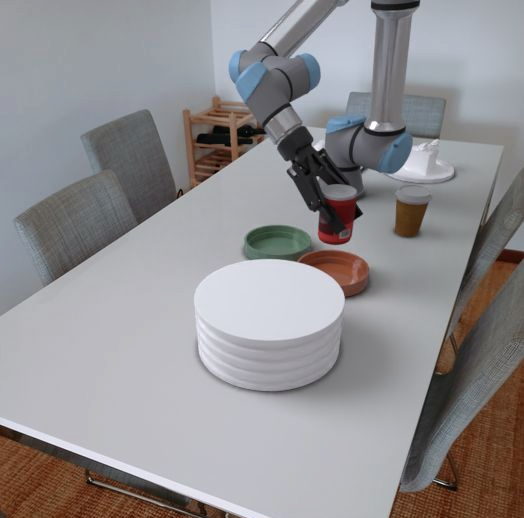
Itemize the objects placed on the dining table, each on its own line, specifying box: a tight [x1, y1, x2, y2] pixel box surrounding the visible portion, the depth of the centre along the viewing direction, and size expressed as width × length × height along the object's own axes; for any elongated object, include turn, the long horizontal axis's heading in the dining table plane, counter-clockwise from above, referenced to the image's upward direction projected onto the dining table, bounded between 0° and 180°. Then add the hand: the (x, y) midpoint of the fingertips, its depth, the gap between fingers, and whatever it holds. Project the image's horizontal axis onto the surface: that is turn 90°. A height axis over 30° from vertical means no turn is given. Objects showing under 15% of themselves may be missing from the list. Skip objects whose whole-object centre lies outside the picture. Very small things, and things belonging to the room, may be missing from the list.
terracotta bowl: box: [297, 249, 371, 298], centre depth 121 cm, size 17×17×3 cm
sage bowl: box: [243, 224, 312, 262], centre depth 132 cm, size 17×17×3 cm
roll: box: [313, 139, 325, 151], centre depth 188 cm, size 6×12×6 cm, turn 159°
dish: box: [384, 138, 455, 184], centre depth 178 cm, size 25×25×11 cm
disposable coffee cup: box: [394, 183, 433, 238], centre depth 138 cm, size 10×10×12 cm
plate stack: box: [193, 259, 346, 392], centre depth 98 cm, size 28×28×12 cm
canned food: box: [317, 184, 358, 246], centre depth 112 cm, size 8×8×11 cm
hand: (350, 224), depth 111 cm, fingers closed on canned food, 8 cm apart
